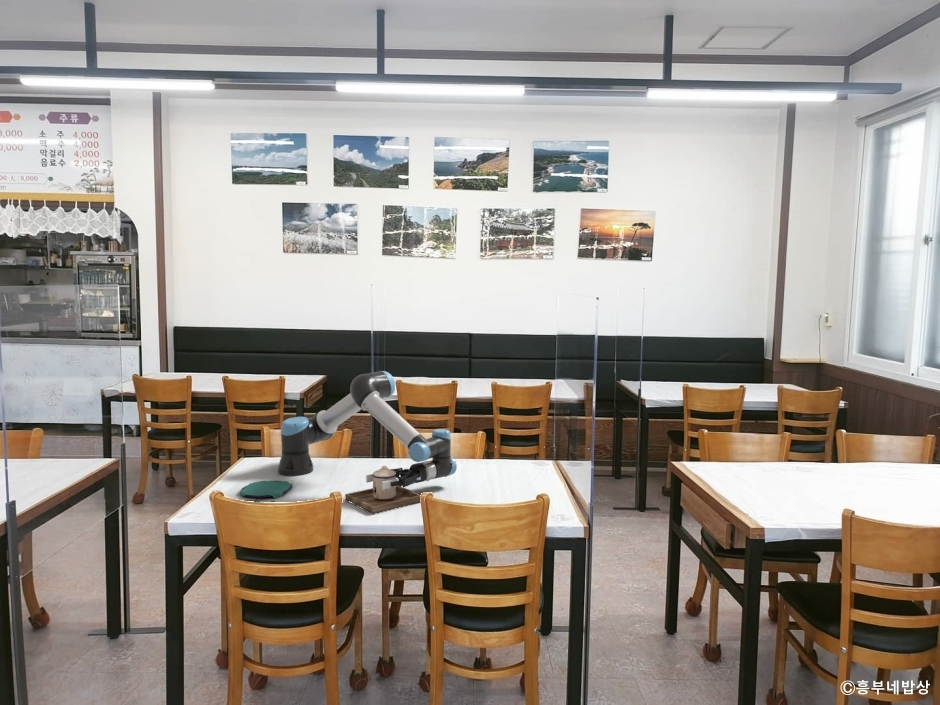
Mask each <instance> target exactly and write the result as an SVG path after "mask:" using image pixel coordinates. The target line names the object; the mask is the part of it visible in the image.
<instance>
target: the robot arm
mask: <svg viewBox="0 0 940 705" xmlns="http://www.w3.org/2000/svg"><path fill="white" fill-rule="evenodd" d="M349 388H350V390H349V391H350V393H349V394H346V396H344V397H343V398H342V399H340V400H339V401H338V402H336V403H335V404H333V405H332V406H331V407H330V408H328V409H326V410H325V409H323V410H320V411H319V412H317V413H316V414H314V415H313V416H311V417H306V416H296V417H290V418H286V419H285V420H283V421H282V422H281V427H280V428H281V429H280V437H281V438H280V439H281V440H280V442H281V457H280V459H279V462H278V466H277V473H278V474H279V475H284V476H302V475H307V474H310V473H312V472H313V471H314V463H313V461H312V458H311V456H310V445H312V444H315V443H319V442H324V441H328V440H329V439H331V438H332V437H333V436H334V435H335V434H336V432H337V430H338V426H340V425H341V424H343V423H344V422H345V421H347V420H348V419H349V418H351V417H352V416H354V415H356V414H357V413H358V412H360V411H361V410H362V411H367V412H368V414H370V415H371V416H372V417H374V418H375V420H376V421H378V422H379V424H381V425H382V426H383V427H384V428H385V429H386V430H388V432H389V433H391V434H392V435H393V437H395V438H396V439H397V440H398V441H399V442H400V443H401V444H402V445H403V446H405V448H407V449H408V455H409V458H410V459H411V460H412V461H413V462H416V463H412V464H411V465H410V467H409V468H404V469H403V467H397V468H389V469H390V470H393V471H395V472H396V479H393V480H388V481H384V482H382V489H387V488H392V487H396V486H401V487H403V488H406V487H409V486H411V485H413V484H418V483H423V482H425V481H427V482H429V481H430V480H434V479H435V480H436V479H440V478H446V477H448V476H452V475H454V474H455V473H456V471H457V467H458V465H457V463H456V462H457V461H456V459H455V458H454V457H452V456H451V454H452V453H451V452H452V451H451V449H452V448H451V445H452V444H451V442H452V440H451V438H452V437H451V431H450V430H449V429H445V428H438V429H433V430H432V432H431V437H429V438H425V437H424V436H423V435H422V434H421V433H419V431H418V430H417V429H415V427H413V426H412V425H411V424H410V423H408V421H407V420H406V419H405V418H403V416H401V415H400V414H399V413H398V411H396V410H395V409H394V408H393V407H392V406H391V405H390V404H389V403H387V402H386V401H385V400H384V399H385V398H386V399H387V398H390V397H392V395H393V394H394V393H395V390H396V383H395V379H394V377H393V375H392V374H391V373H390V372H388V371H385V370H378V371H375V372H368V373H363V374H359V375H357V376H355V377H354V378H353V379H352V381H351V383H350V387H349ZM428 459H431V460H428ZM372 474H373V473H370V474H367V475H366V476H365V480H366V482H365V483H367V484H368V483H371V482H372V483H373V476H372Z"/></svg>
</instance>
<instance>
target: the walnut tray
mask: <svg viewBox="0 0 940 705" xmlns="http://www.w3.org/2000/svg"><path fill="white" fill-rule="evenodd" d="M420 495H421V494H420V493H417V492H414V491H413V490H410V489H407V488H406V487H403V486H396V496H395V497H393V498H391V499H377V498H375V497H374V496H373V487H372V488H367V489H362V490H358V491H353V492H349V493H345V495H344V496H345V497H344V498H345V499H344V500H347V501H350V502H352V503H354V504H355V505H358V506H359V507H361V508H363V509H364V510H363V509H362V510H363V511H365V510H366V511H365V512H367V511H368V512H367V513H369V512H370V513H369V514H371V513H372V514H371V515H376V514H375V513H377V514H381V513H384V512H383V511H385V512H388V511H387V510H389V511H392V510H391V509H393V510H396V509H395V508H397V509H400V508H399V507H401V508H404V507H403V506H405V507H408V505H409V506H411V505H412V506H413V505H416V504H421V503H420ZM347 501H346V502H347ZM355 505H354V506H355ZM359 507H358V508H359ZM361 508H360V509H361ZM380 512H381V513H380Z"/></svg>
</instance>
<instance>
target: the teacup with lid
mask: <svg viewBox="0 0 940 705" xmlns="http://www.w3.org/2000/svg"><path fill="white" fill-rule="evenodd" d="M390 469H391V468H388V466H387V465H382V466H381V468H379V469H378V470H375V471H373V472H372V473H371V474H372V476H373V481H372V488H373V496H374V497H375V498H377V499H391V498H393V497H395V496H396V487H392V488H387V489H382V482H384V481H388V480H393V479H397V478H396V472H395V471H393V470H390Z"/></svg>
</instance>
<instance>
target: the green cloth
mask: <svg viewBox="0 0 940 705" xmlns="http://www.w3.org/2000/svg"><path fill="white" fill-rule="evenodd" d="M293 486H294V485H293V483H292V482H289V481H287V480H259V481H255V482H250V483H248V484H246V485H245V486H243V487H242V488H241V489H240V490H239V495H240V496H242V497H244V496H245V497H248V498H259V499H255V500H253V499H251V500H252V501H263V500H262V498H270V497H273V498H274V499H279V498H281V496H282V495H283V494H285V493H288V492H290V491H291V490H292V488H293ZM278 497H279V498H278ZM269 501H270V502H271V503H273V502H274V503H275V500H269Z"/></svg>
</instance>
